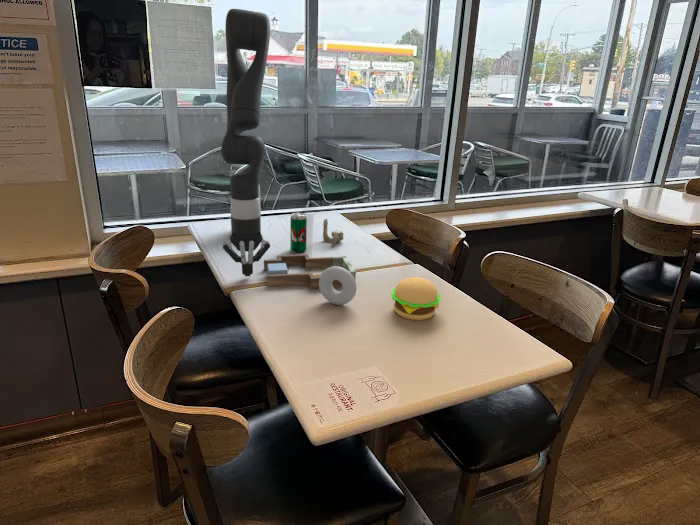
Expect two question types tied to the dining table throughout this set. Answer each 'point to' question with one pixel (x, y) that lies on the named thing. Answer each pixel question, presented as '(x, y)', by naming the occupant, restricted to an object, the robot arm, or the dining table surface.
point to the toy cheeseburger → (415, 298)
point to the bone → (335, 234)
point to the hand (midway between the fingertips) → (247, 275)
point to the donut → (345, 280)
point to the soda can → (298, 232)
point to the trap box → (309, 264)
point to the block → (277, 268)
